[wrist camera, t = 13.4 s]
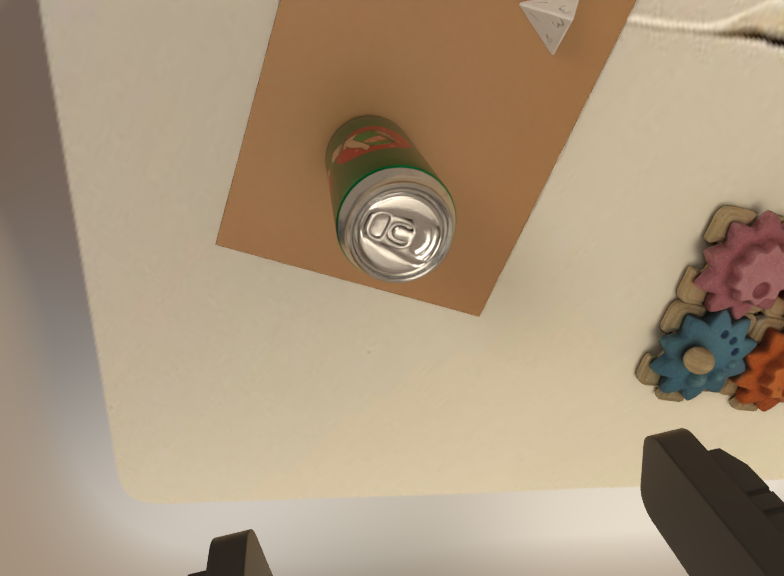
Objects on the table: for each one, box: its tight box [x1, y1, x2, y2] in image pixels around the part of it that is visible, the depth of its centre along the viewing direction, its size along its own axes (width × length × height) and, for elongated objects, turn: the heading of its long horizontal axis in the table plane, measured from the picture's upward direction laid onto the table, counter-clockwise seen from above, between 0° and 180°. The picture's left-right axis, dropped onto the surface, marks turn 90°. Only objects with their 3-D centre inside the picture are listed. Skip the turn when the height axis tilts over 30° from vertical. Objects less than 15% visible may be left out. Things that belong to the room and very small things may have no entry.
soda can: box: [325, 115, 457, 283], centre depth 28 cm, size 5×5×12 cm
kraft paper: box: [216, 0, 636, 316], centre depth 32 cm, size 18×22×1 cm
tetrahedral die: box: [519, 0, 579, 55], centre depth 30 cm, size 4×3×3 cm
